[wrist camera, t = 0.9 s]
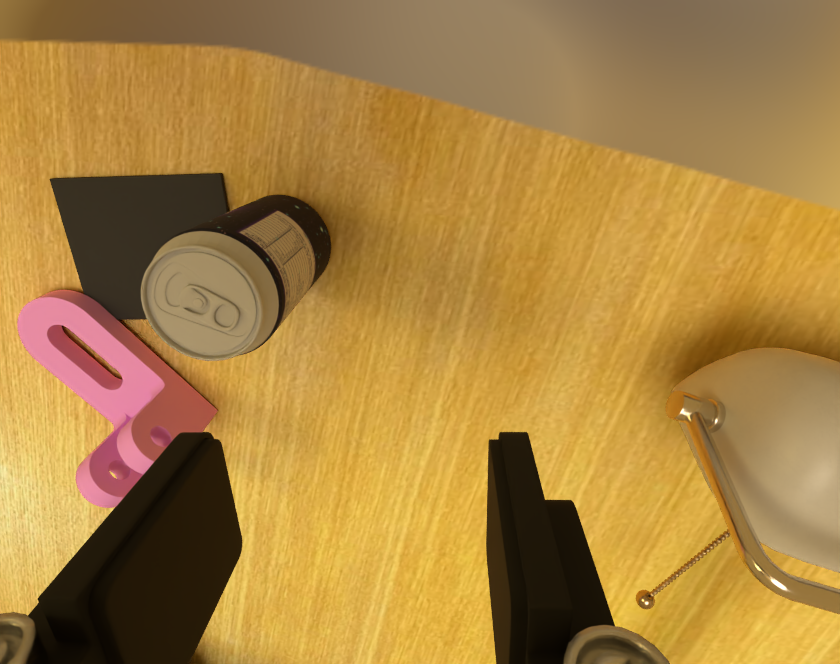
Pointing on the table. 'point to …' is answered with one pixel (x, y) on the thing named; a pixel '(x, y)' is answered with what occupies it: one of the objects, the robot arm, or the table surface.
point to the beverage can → (234, 277)
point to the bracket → (112, 389)
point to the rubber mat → (130, 228)
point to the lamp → (768, 462)
